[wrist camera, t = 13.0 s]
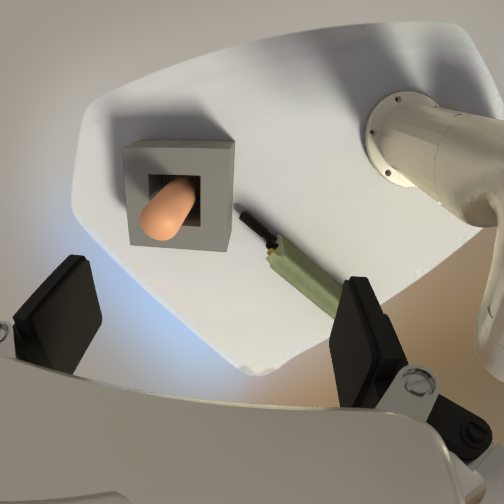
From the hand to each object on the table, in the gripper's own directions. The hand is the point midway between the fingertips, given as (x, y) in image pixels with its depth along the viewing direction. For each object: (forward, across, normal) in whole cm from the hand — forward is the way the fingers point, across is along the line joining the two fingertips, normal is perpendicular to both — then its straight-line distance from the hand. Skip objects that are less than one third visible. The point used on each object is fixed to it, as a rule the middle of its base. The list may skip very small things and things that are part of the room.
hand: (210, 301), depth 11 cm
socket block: (+30, +8, +5) cm, 32 cm away
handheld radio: (+31, -9, +16) cm, 36 cm away
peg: (+30, +8, +5) cm, 32 cm away
